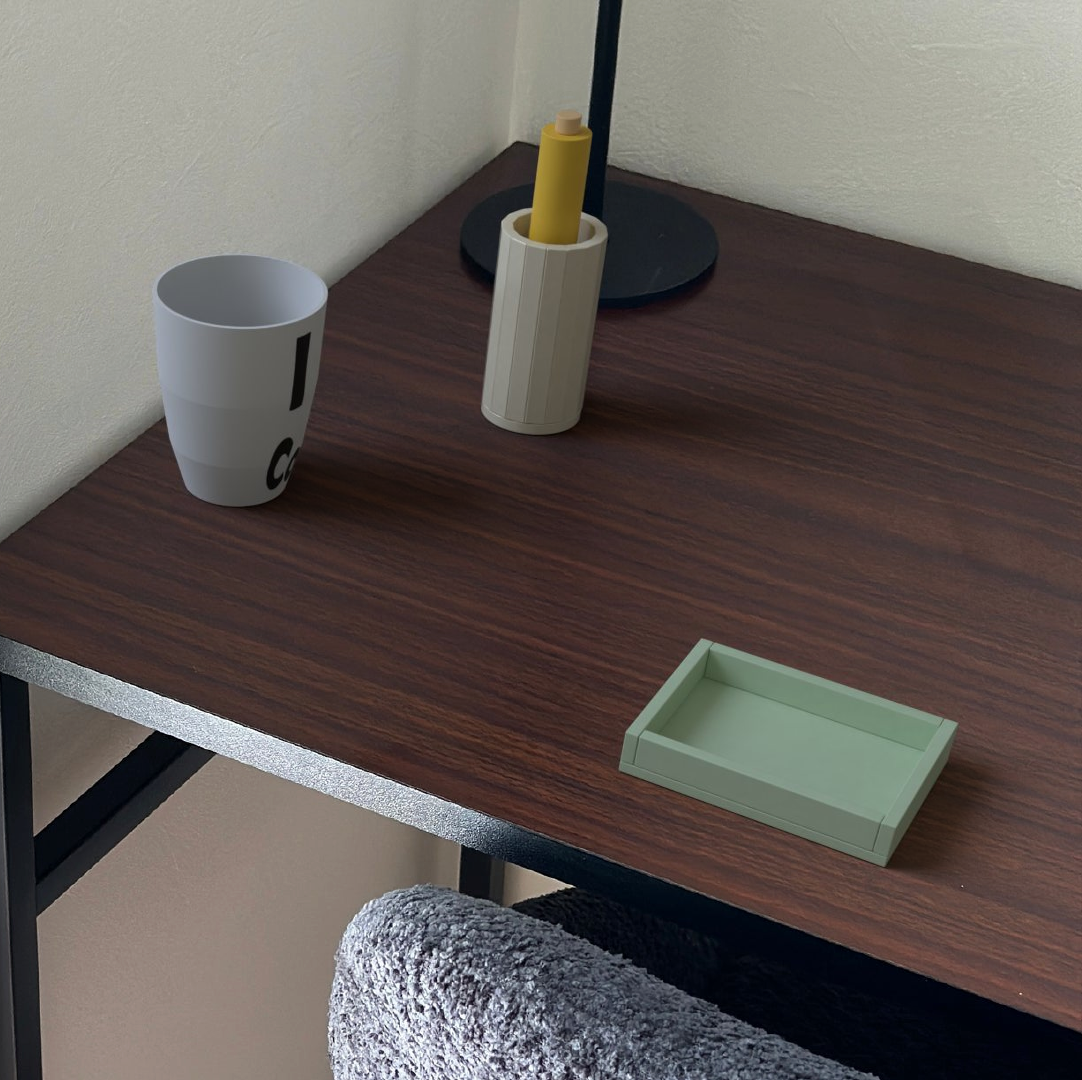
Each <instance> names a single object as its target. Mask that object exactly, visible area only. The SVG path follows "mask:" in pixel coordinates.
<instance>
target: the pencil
mask: <svg viewBox="0 0 1082 1080" xmlns="http://www.w3.org/2000/svg"><path fill="white" fill-rule="evenodd" d="M582 120H583V115H582V113H580V112H579V111H576V110H571V109H570V110H569V109H568V110H567V109H566V110H565V109H564V110H559V111H558V112H556V116H555V122H551V123H548V124H546V125H544V126H543V127H542V128H541V135H540V143H539V150H538V151H539V152H538V160H537V167H536V174H535V175H536V176H535V183H534V192H533V200H532V207H531V208H532V215H531V223H530V231H529V239H530V240H532V241H535V242H540V243H545V244H551V245H571V244H577V241H578V234H579V226H580V219H581V212H583V211H582V210H583V205H584V197H585V190H586V183H587V175H588V167H589V160H590V153H591V147H592V139H593V132H592V130H591V129H590V128H589V127H587V126H585V125H582Z"/></svg>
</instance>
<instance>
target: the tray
mask: <svg viewBox="0 0 1082 1080" xmlns="http://www.w3.org/2000/svg"><path fill="white" fill-rule="evenodd" d="M959 724H960V723H959V722H957V721H954V720H950V719H948V718H944V717H941V716H938V715H935V714H933V713H929V712H926V711H924V710H920V709H917V708H914V707H911V706H909V705H905V704H902V703H899V702H896V701H893V700H889V699H887V698H883V697H881V696H878V695H875V694H872V693H869V692H866V691H863V690H860V689H857V688H854V687H850V686H848V685H845V684H841V683H838V682H836V681H832V680H830V679H826V678H823V677H821V676H818V675H815V674H811V673H809V672H806V671H803V670H800V669H797V668H794V667H790V666H787V665H784V664H782V663H778V662H775V661H772V660H769V659H766V658H763V657H761V656H757V655H754V654H751V653H748V652H746V651H742V650H739V649H736V648H733V647H731V646H727V645H725V644H721V643H718V642H714V641H713V640H709V639H706V638H700V640H699V641H698V642H697V643H696V644H695V646H693V648H692V649H691V651H690V652H689V653H688V654H687V656H686V657H685V658H684V659H683V661H681V663H680V664H679V665H678V667H677V668H676V669H675V670H674V672H673V673H672V674H671V675H670V677H668V679H667V680H666V681H665V683H663V685H662V686H661V687H660V689H659V690H658V691H657V692H656V694H655V695H654V696H653V697H652V698H651V700H649V702H648V703H647V705H646V706H645V707H644V709H643V710H641V712H640V714H638V716H637V717H636V718H635V720H634V721H633V722H632V723H631V725H630V726H629V727H628V728H627V729H626V731H625V732H624V733H625V734H624V739H623V744H622V750H621V755H620V761H619V766H618V771H619V772H622V773H624V774H627V775H630V776H632V777H636V778H638V779H641V780H644V781H646V782H649V783H652V784H654V785H657V786H660V787H663V788H665V789H669V790H670V791H674V792H676V793H679V794H682V795H685V796H687V797H691V798H692V799H695V800H698V801H702V802H704V803H707V804H710V805H713V806H715V807H718V808H720V809H723V810H726V811H728V812H731V813H734V814H736V815H739V816H743V817H745V818H747V819H751V820H753V821H756V822H759V823H760V824H761V823H762V824H764V825H767V826H770V827H772V828H776V829H778V830H781V831H784V832H785V833H789V834H792V835H794V836H797V837H800V838H802V839H806V840H809V841H811V842H814V843H816V844H819V845H822V846H824V847H828V848H831V849H833V850H835V851H838V852H840V853H844V854H846V855H850V856H852V857H854V858H858V859H861V860H863V861H866V862H869V863H871V864H874V865H877V866H880V867H881V868H885V867H886V866H887V865H888V862H889V861H890V859H891V857H892V856H893V854H894V852H895V850H896V849H897V848H898V846H899V844H900V842H901V841H902V838H904V835H905V834H906V832H907V830H908V829H909V827H910V825H911V824H912V823H913V820H914V819H915V817H916V815H917V813H918V812H919V810H920V808H921V807H922V805H923V803H924V802H925V800H926V798H927V797H928V795H929V793H930V791H931V790H932V788H933V787H934V785H935V783H936V781H937V780H938V778H939V776H940V775H941V774H942V771H943V769H945V766H946V764H947V762H948V760H949V758H950V754H951V750H952V748H953V744H954V741H955V737H956V734H957V731H958V729H959Z"/></svg>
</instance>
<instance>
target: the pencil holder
mask: <svg viewBox="0 0 1082 1080" xmlns="http://www.w3.org/2000/svg"><path fill="white" fill-rule="evenodd" d="M531 215H532V207H528V208H521V209H519V210H516V211H513V212H511V213H508V214H507V215H506V216H505V217H504V218H503V219H502V220H501V223H500V232H499V239H498V249H497V257H496V266H495V273H494V274H495V275H494V282H493V283H494V284H493V292H492V301H491V308H490V318H489V327H488V336H487V345H486V354H485V360H484V361H485V362H484V371H483V379H482V389H481V403H480V409H481V413H482V415H483V416H484V418H485V419H486V420H487V421H489V422H490V423H491V424H493V425H495V426H497V427H498V428H501V429H504V430H506V431H510V432H512V433H517V434H524V435H536V436H543V435H553V434H558V433H562V432H564V431H565V432H566V431H568V430H569V429H571V428H573V427H574V426H576V425H577V423H578V422H580V419H581V415H582V409H583V406H584V399H585V393H586V387H587V379H588V373H589V366H590V360H591V359H590V358H591V353H592V345H593V340H594V331H595V327H596V326H595V325H596V318H597V312H598V305H599V298H600V293H601V284H602V278H603V271H604V266H605V265H604V264H605V258H606V251H607V245H608V237H609V234H608V233H609V232H608V228H607V226H606V225H605V224H604V223H603V222H602V221H601V220H600V219H598V218H597V217H595V216H593V215H590V214H588V213H585V212H583V211H582V212H581V219H580V226H579V234H578V241H577V244H571V245H551V244H545V243H540V242H535V241H532V240H530V239H529V231H530V223H531Z"/></svg>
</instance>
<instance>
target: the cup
mask: <svg viewBox="0 0 1082 1080" xmlns="http://www.w3.org/2000/svg"><path fill="white" fill-rule="evenodd" d="M328 296H329V291H328V287H327V284H326V283H325V281H324V280H323V278H321V277H320V276H319V275H318V274H317V273H315V272H314V271H313V270H311V269H309V268H307V267H306V266H303V265H301V264H299V263H296V262H294V261H290V260H287V259H283V258H279V257H275V256H269V255H262V254H253V253H218V254H217V253H216V254H210V255H203V256H198V257H194V258H189V259H186V260H183V261H180V262H178V263H176V264H174V265H172V266H169V267H168V268H166V269H165V270H163V271H162V272H161V273H160V274H159V275H158V276H157V277H156V279H155V280H154V282H153V283H152V302H153V303H152V305H153V319H154V335H155V350H156V363H157V364H156V365H157V376H158V381H159V382H158V383H159V386H160V393H161V398H162V404H163V410H164V415H165V421H166V426H167V427H166V428H167V432H168V438H169V441H170V444H171V447H172V450H173V453H174V456H175V459H176V462H177V465H178V468H179V471H180V473H181V478H182V479H183V484H184V485H185V488H186V489H187V490H188V491H189V492H190V494H192V495H193V496H194V497H196V498H197V499H200V500H202V501H204V502H206V503H210V504H213V505H217V506H223V507H250V506H251V507H252V506H257V505H260V504H264V503H267V502H269V501H271V500H274V499H275V498H277V497H278V496H280V495H281V494H282V493H283V492H284V490H285V488H286V486H287V484H288V481H289V478H290V476H291V473H292V472H293V471H292V470H293V468H294V466H295V463H296V461H297V458H298V457H299V454H300V452H301V451H300V450H301V448H302V446H303V444H304V440H305V435H306V431H307V426H308V423H309V419H310V413H311V409H312V406H313V401H314V396H315V392H316V387H317V384H318V379H319V373H320V364H321V356H322V348H323V347H322V346H323V339H324V329H325V320H326V313H327V306H328V305H327V304H328Z"/></svg>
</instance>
